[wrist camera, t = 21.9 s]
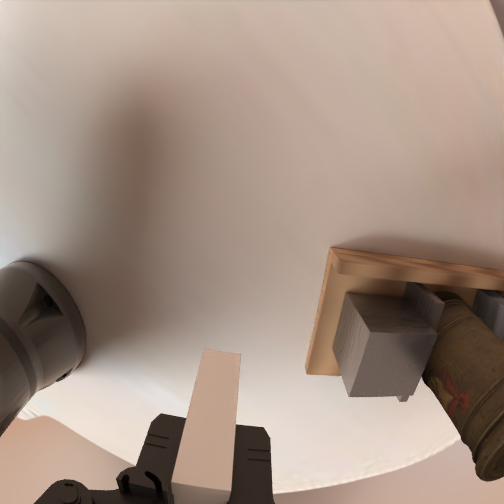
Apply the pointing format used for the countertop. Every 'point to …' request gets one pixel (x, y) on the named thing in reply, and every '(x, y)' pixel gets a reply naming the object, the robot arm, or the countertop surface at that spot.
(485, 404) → the container
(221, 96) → the countertop surface
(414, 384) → the bookend
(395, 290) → the rack
